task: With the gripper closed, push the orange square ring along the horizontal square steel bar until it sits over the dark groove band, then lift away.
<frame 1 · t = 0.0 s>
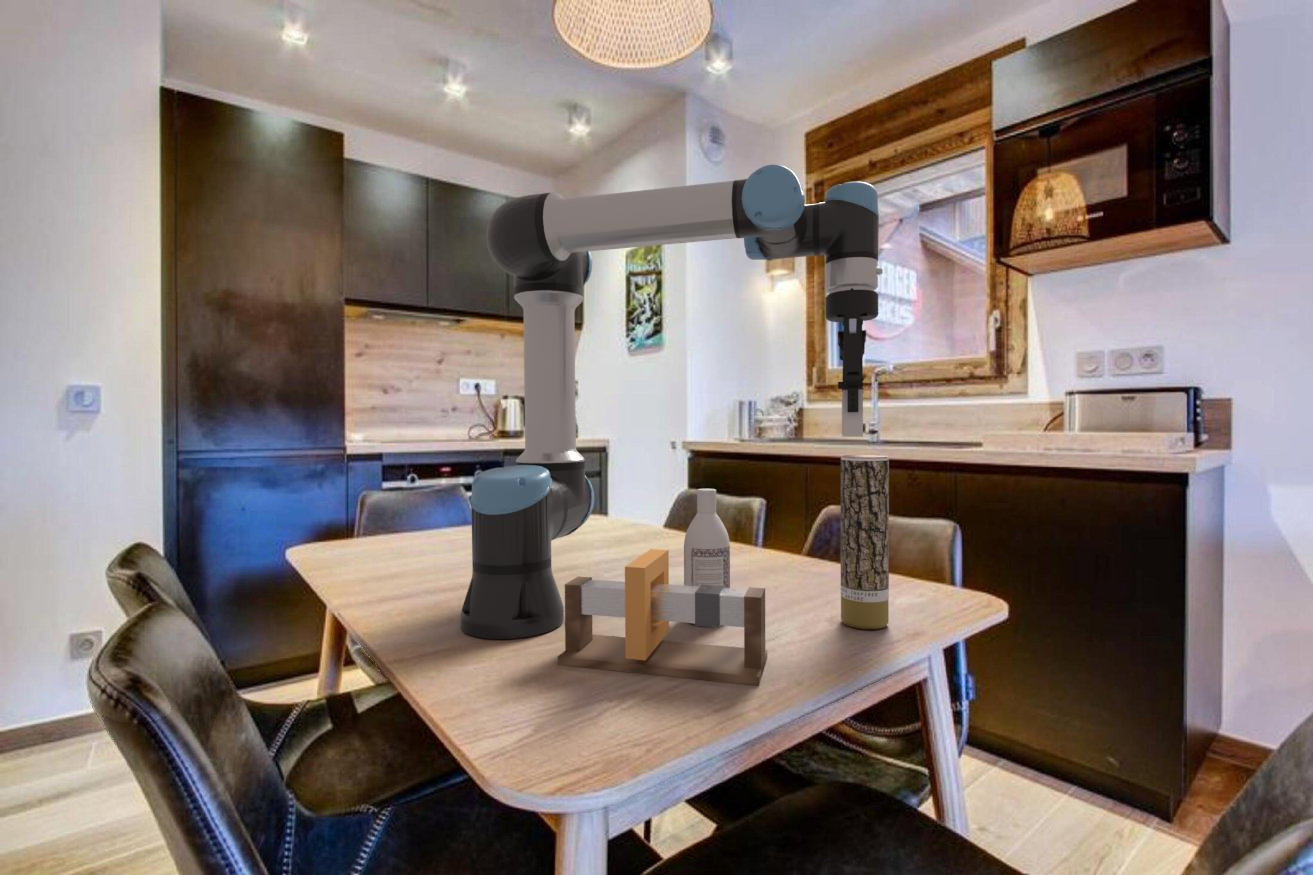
hand: (851, 435, 96), 28 cm above the table, fingers open, 13 cm apart
rail: (663, 602, 81), point 8 cm above the table
bath foam: (707, 621, 98), on the table
paper tube: (864, 625, 95), on the table
brown stand: (663, 660, 81), on the table
orange square ring: (648, 600, 81), point 7 cm above the table, slide at 0.0 cm
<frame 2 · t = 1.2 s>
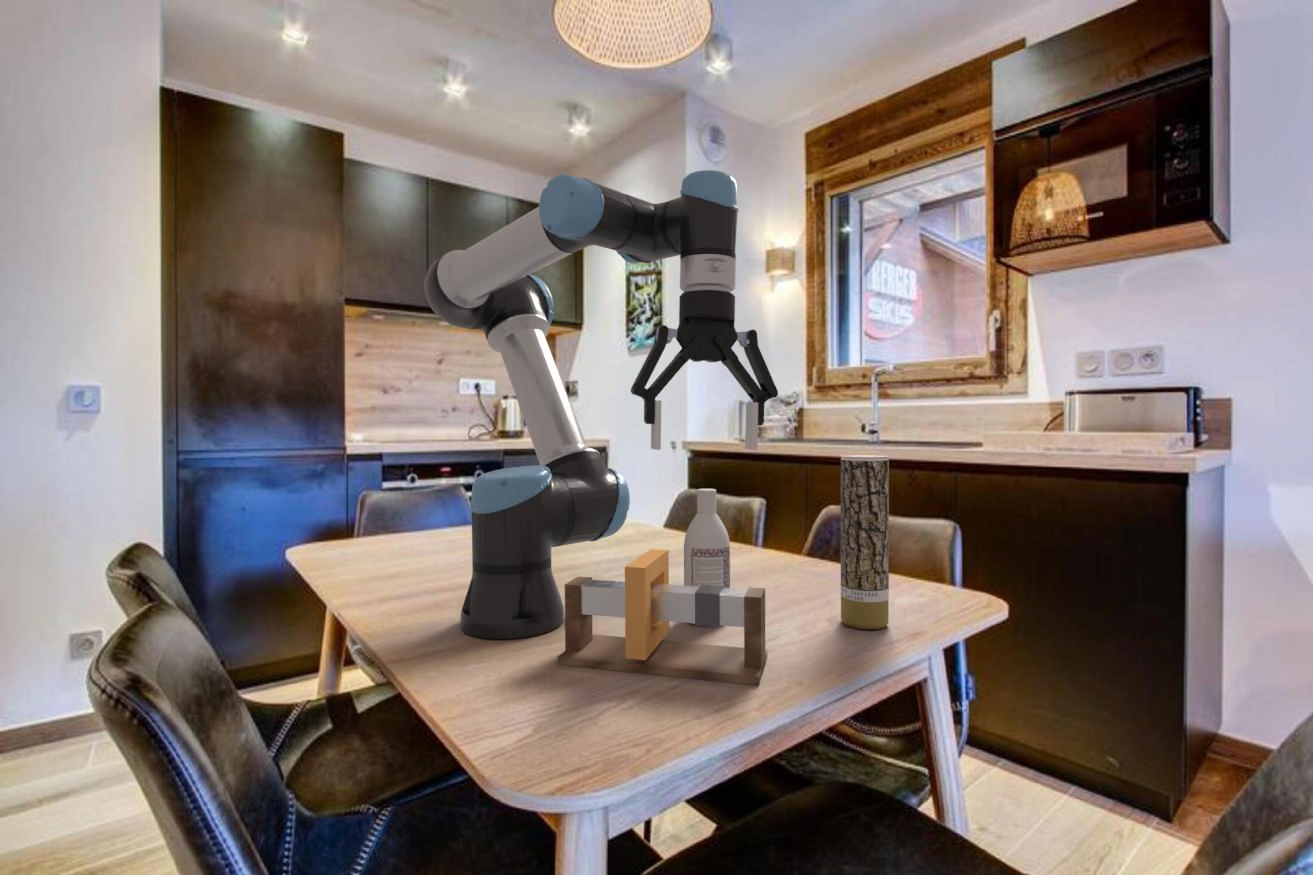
hand: (704, 449, 88), 26 cm above the table, fingers open, 13 cm apart
nothing on the table moved.
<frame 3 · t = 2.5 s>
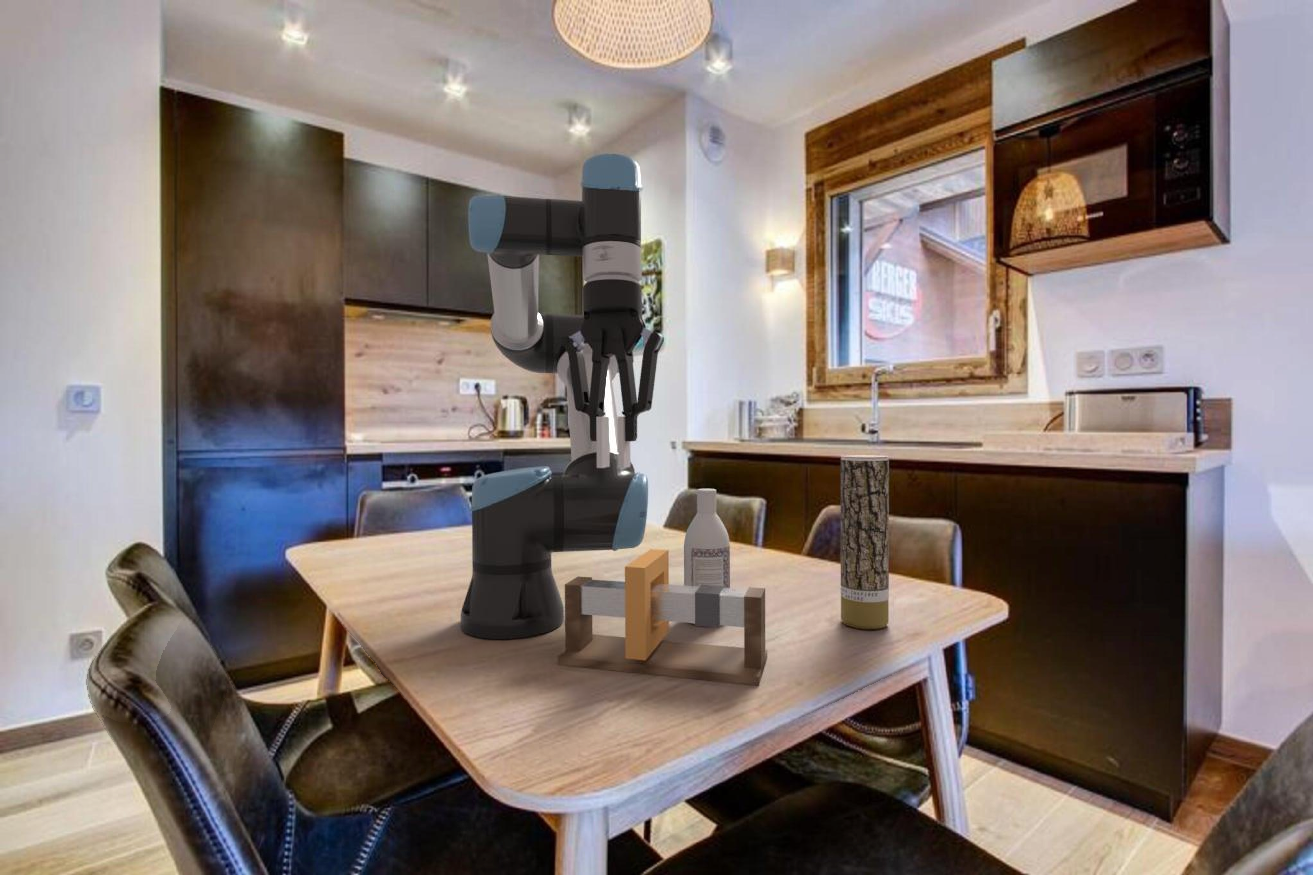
hand: (613, 467, 82), 24 cm above the table, fingers open, 2 cm apart
nothing on the table moved.
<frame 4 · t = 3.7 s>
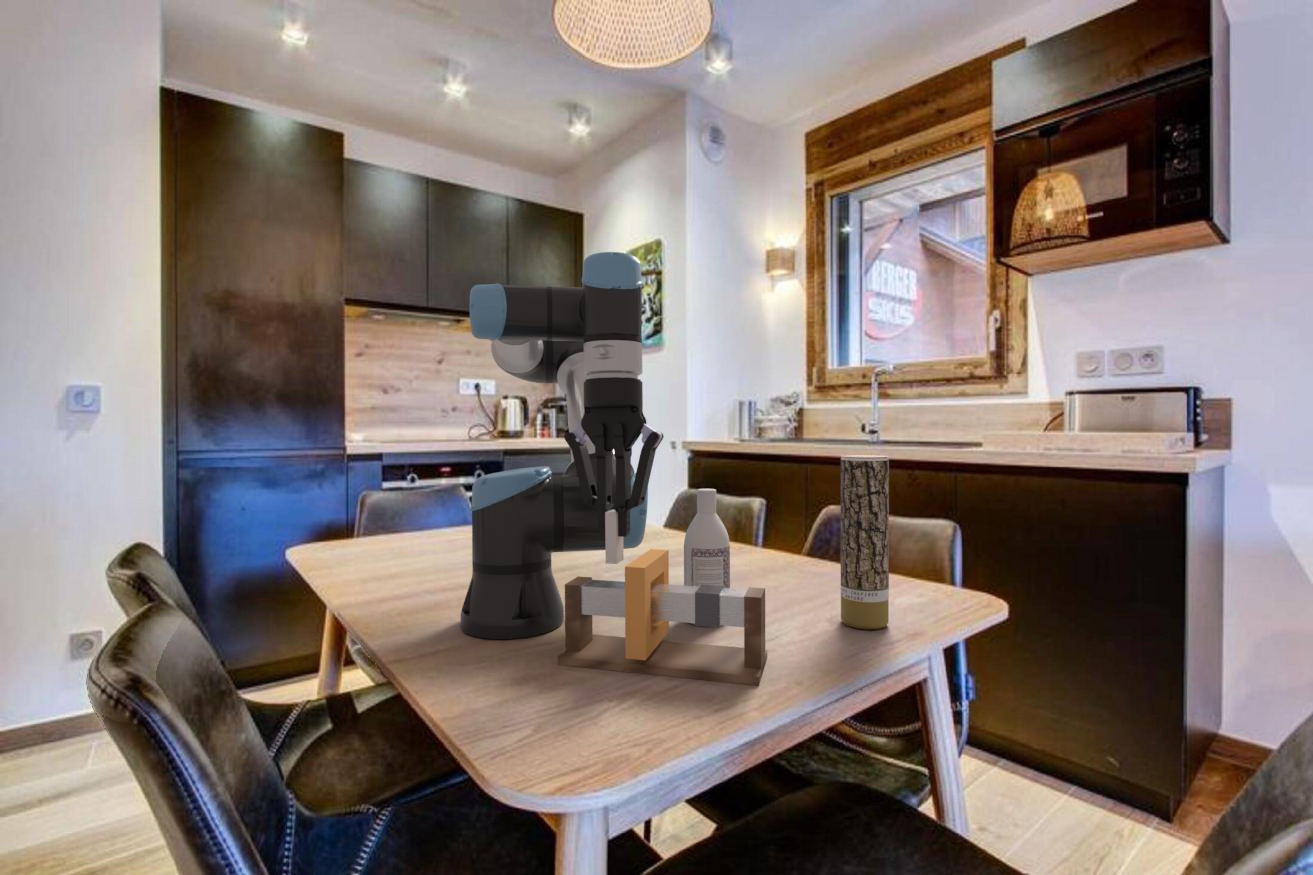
hand: (614, 561, 82), 12 cm above the table, fingers closed
nothing on the table moved.
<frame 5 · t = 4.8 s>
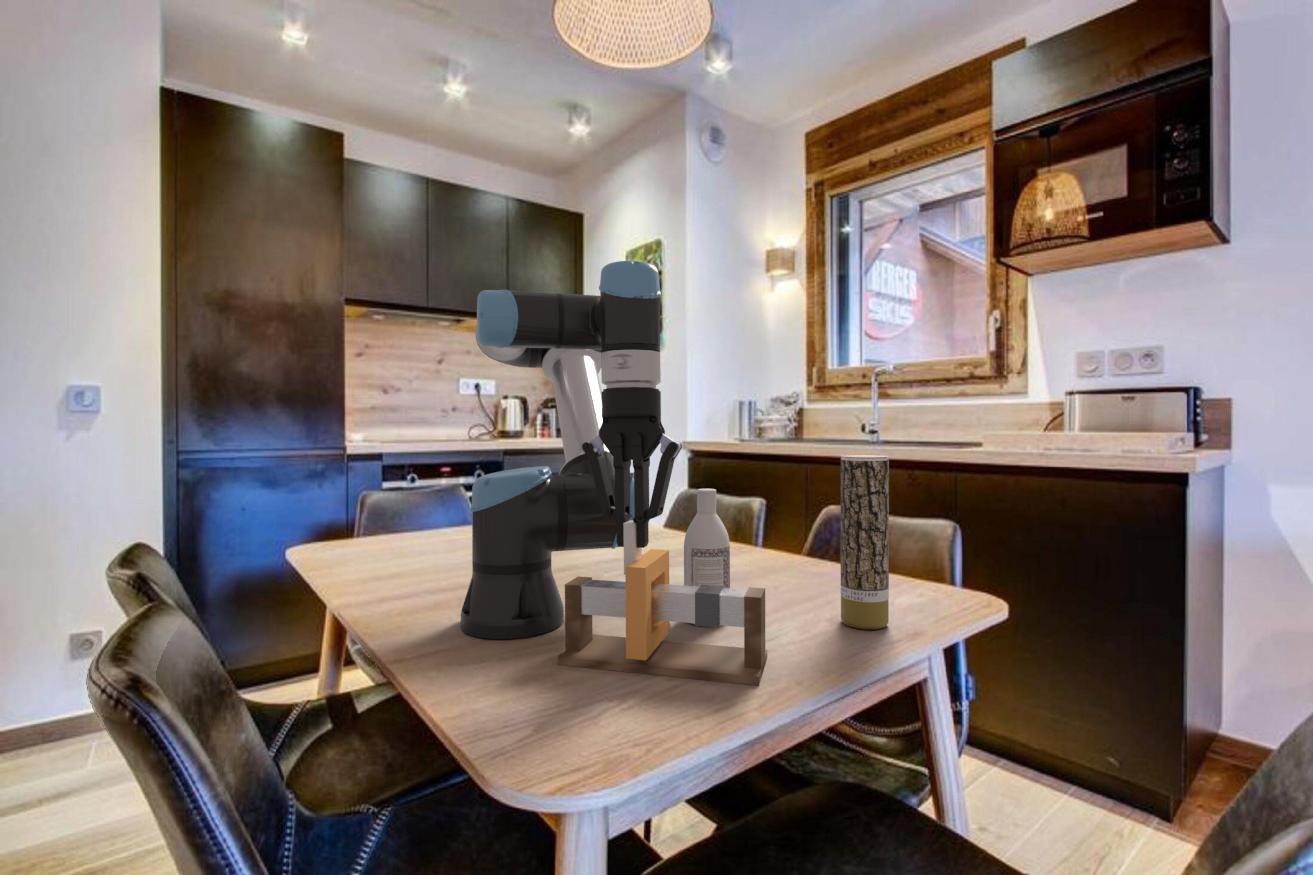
hand: (633, 572, 82), 11 cm above the table, fingers closed
orange square ring: (648, 600, 81), point 7 cm above the table, slide at 0.1 cm, touching gripper
everything else where it was.
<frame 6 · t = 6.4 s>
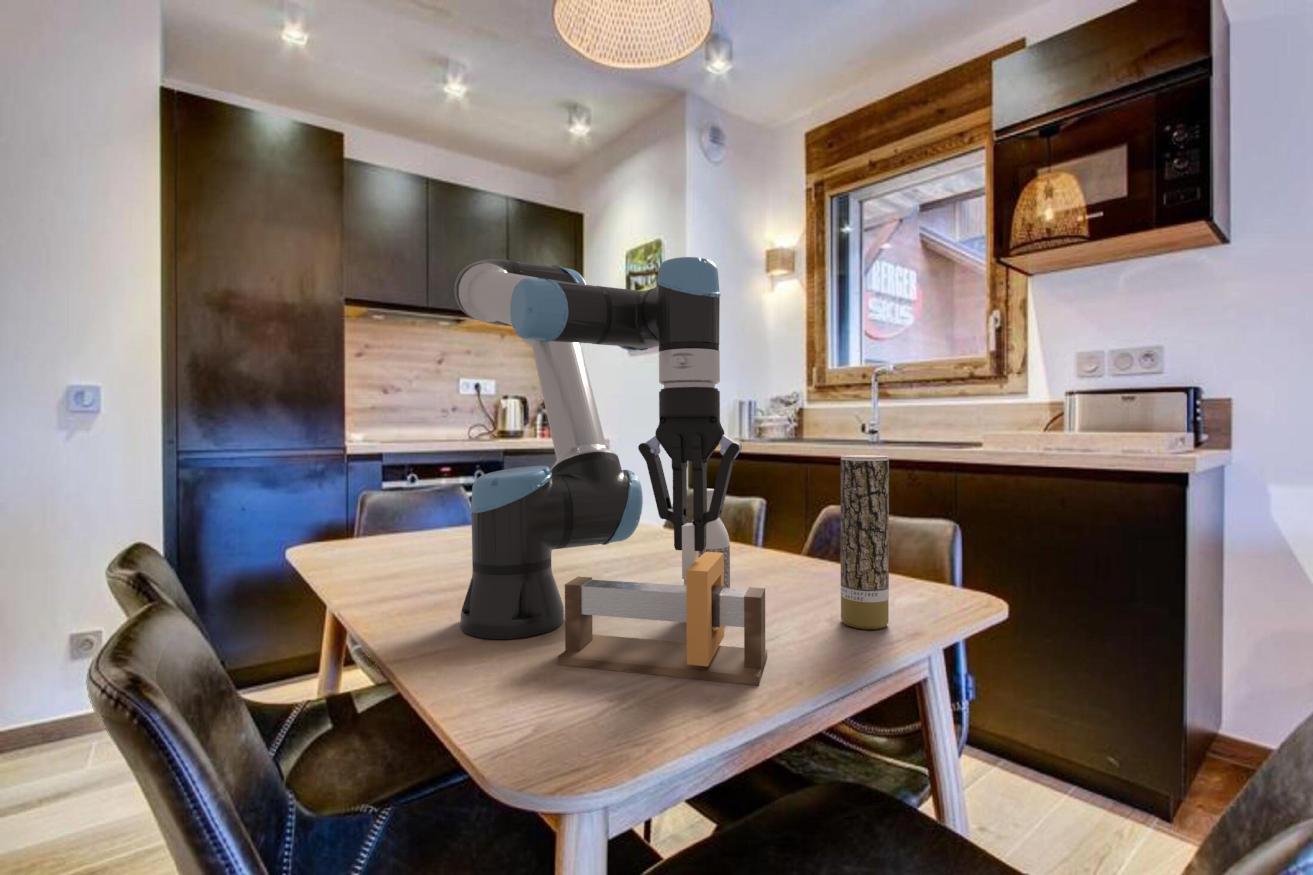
hand: (690, 576, 80), 11 cm above the table, fingers closed
orange square ring: (706, 605, 79), point 7 cm above the table, slide at 7.5 cm, touching gripper
everything else where it was.
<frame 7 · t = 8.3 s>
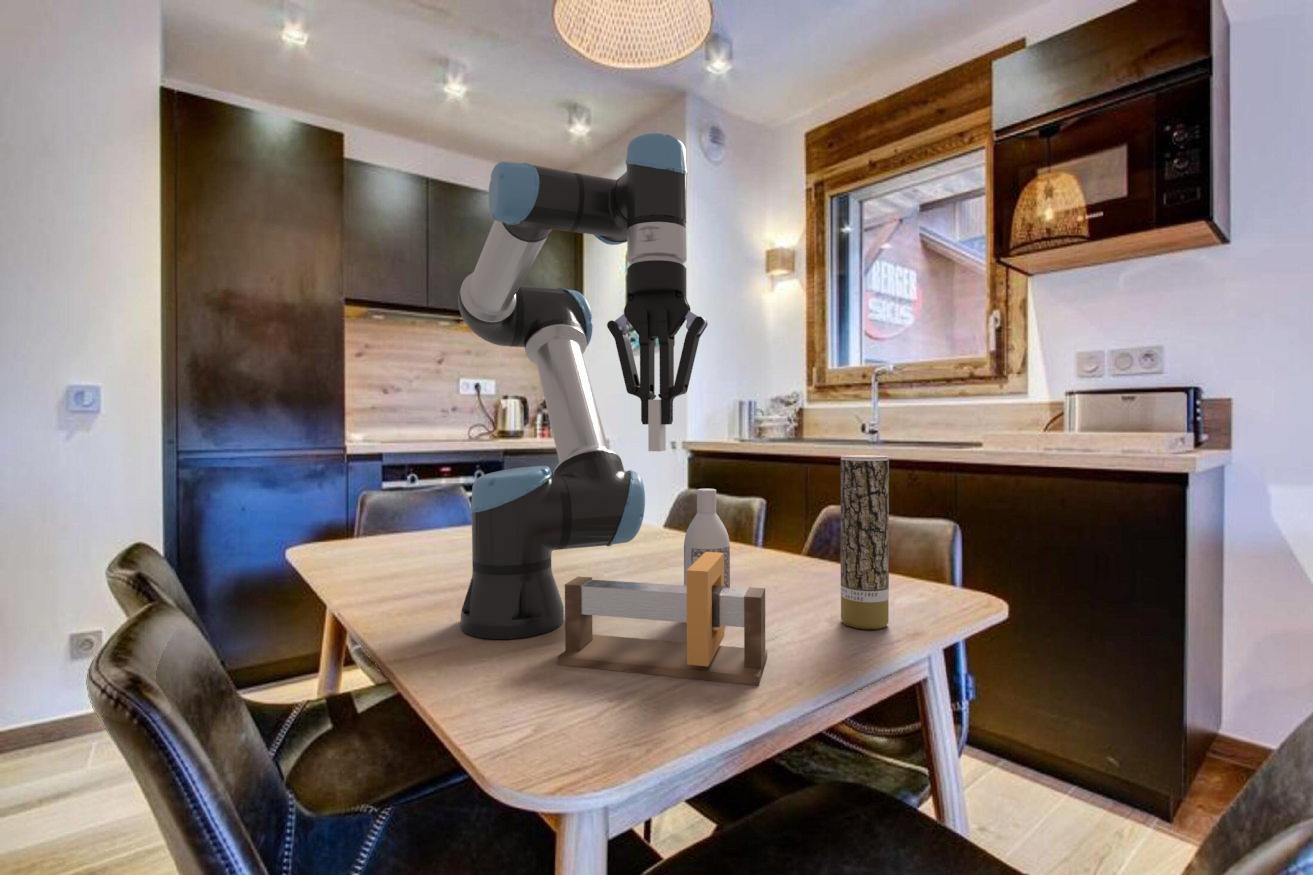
hand: (657, 450, 82), 27 cm above the table, fingers closed
orange square ring: (706, 605, 79), point 7 cm above the table, slide at 7.5 cm
everything else where it was.
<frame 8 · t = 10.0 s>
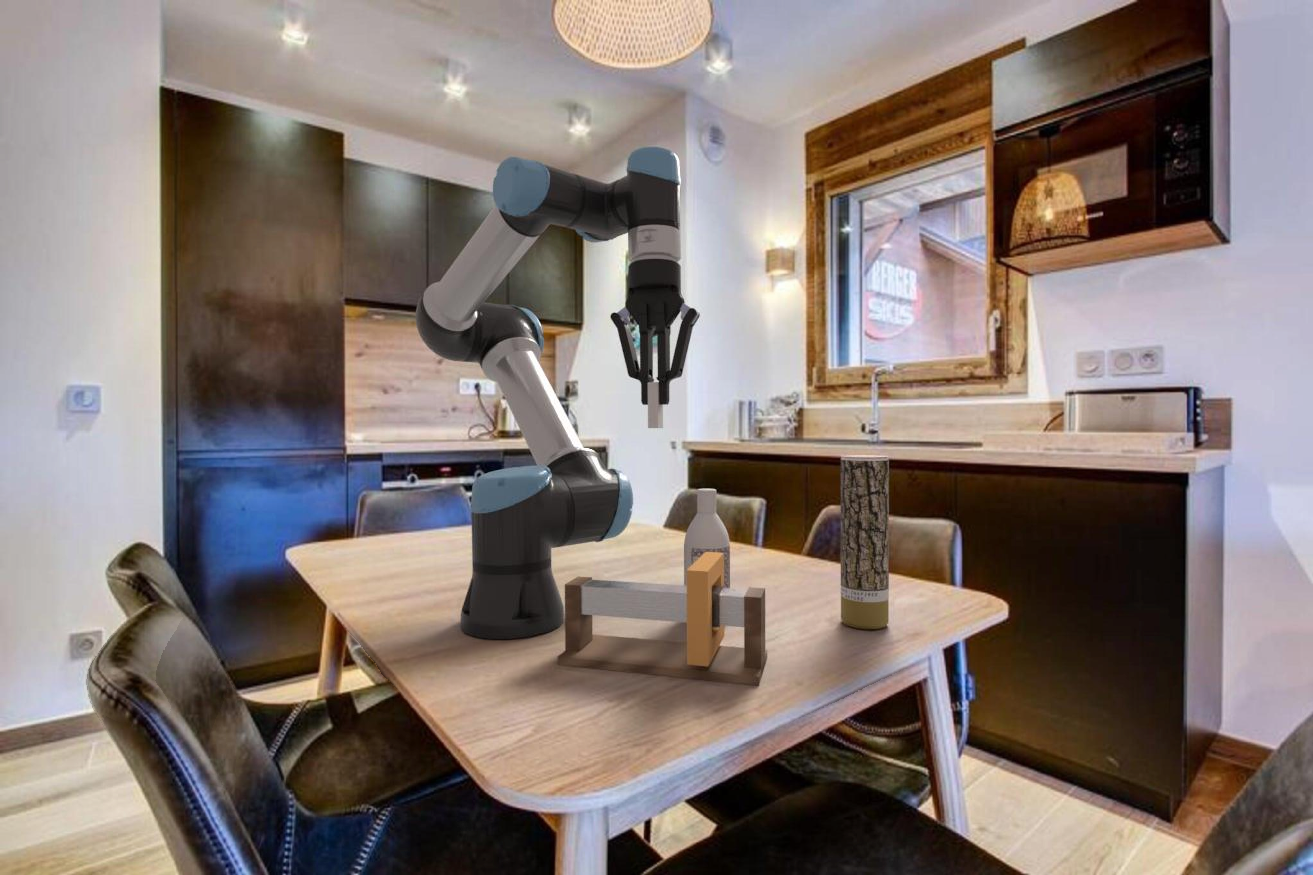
hand: (655, 427, 92), 29 cm above the table, fingers closed
nothing on the table moved.
at the end: orange square ring slide at 7.5 cm; the gripper is holding nothing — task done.
